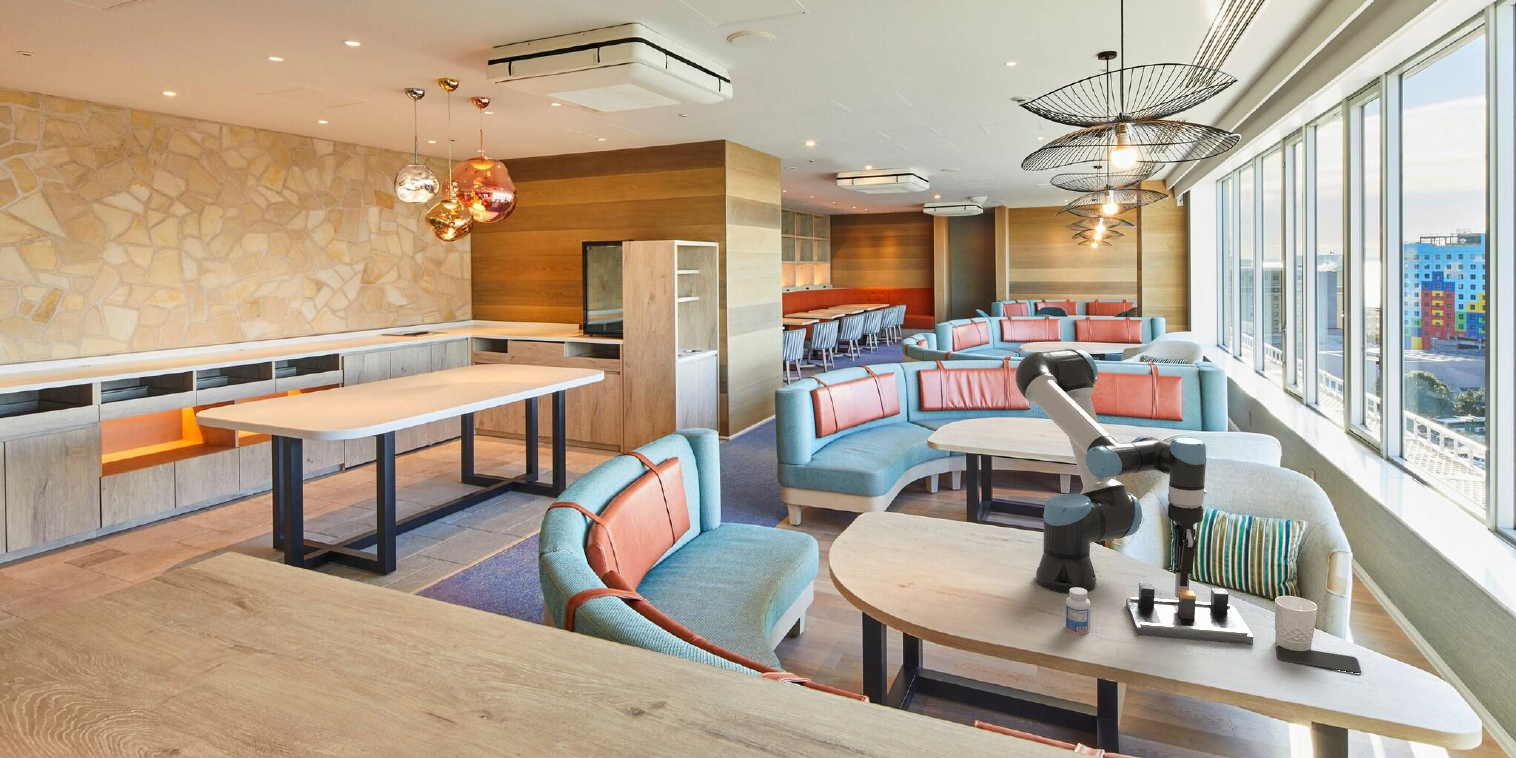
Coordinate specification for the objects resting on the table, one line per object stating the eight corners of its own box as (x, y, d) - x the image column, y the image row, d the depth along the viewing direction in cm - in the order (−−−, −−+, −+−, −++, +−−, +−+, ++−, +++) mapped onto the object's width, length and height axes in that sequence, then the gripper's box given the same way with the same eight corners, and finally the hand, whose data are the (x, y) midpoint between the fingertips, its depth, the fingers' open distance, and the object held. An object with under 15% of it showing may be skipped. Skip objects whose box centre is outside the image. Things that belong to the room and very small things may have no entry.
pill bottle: (1071, 621, 199) (1072, 583, 197) (1093, 628, 195) (1095, 589, 194) (1061, 629, 195) (1062, 591, 194) (1083, 636, 191) (1084, 597, 190)
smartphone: (1275, 643, 184) (1357, 656, 177) (1274, 647, 184) (1357, 660, 177) (1277, 659, 178) (1362, 672, 170) (1276, 663, 178) (1362, 677, 171)
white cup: (1320, 655, 179) (1324, 612, 178) (1280, 652, 181) (1283, 610, 179) (1304, 637, 187) (1307, 596, 185) (1266, 635, 188) (1269, 594, 187)
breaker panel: (1136, 635, 191) (1137, 607, 190) (1125, 605, 206) (1126, 579, 205) (1252, 644, 185) (1254, 615, 183) (1232, 613, 200) (1234, 586, 199)
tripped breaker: (1180, 618, 194) (1181, 595, 193) (1177, 612, 197) (1179, 589, 196) (1194, 619, 193) (1195, 595, 192) (1191, 613, 196) (1192, 590, 195)
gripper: (1210, 512, 189) (1205, 609, 193) (1196, 495, 201) (1192, 586, 205) (1174, 511, 191) (1170, 606, 195) (1162, 494, 203) (1159, 584, 207)
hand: (1181, 596), depth 200 cm, fingers closed
